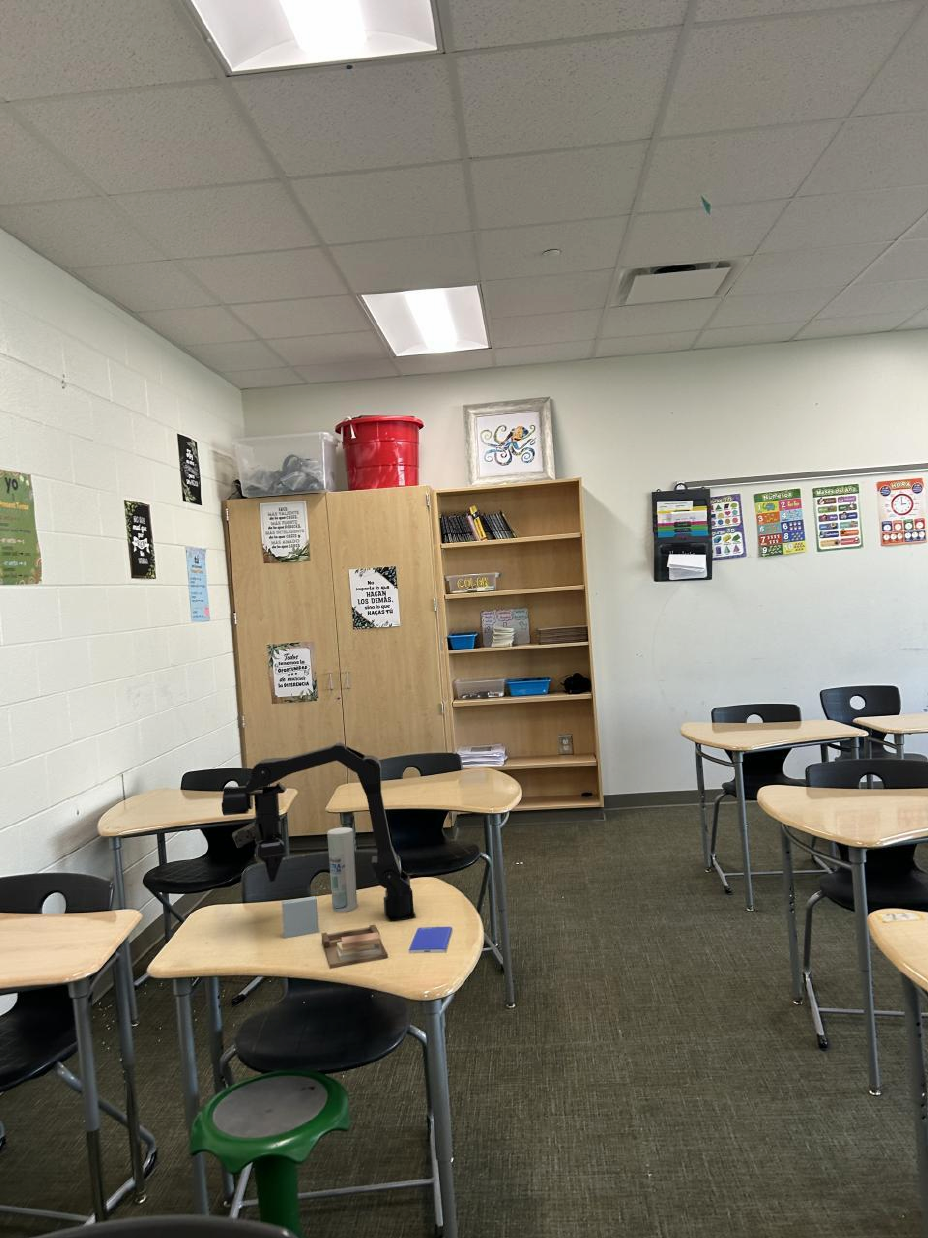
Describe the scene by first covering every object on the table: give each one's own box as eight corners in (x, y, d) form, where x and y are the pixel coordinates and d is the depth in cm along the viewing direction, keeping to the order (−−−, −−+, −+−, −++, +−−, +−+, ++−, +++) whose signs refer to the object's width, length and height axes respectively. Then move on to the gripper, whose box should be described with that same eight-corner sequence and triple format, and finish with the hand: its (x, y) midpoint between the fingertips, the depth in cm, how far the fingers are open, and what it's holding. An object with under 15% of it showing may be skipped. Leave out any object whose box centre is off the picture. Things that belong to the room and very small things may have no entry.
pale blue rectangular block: (318, 929, 194) (315, 896, 194) (319, 933, 192) (316, 899, 192) (283, 935, 192) (281, 901, 192) (284, 938, 190) (282, 904, 190)
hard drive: (417, 927, 188) (408, 949, 176) (452, 926, 187) (445, 948, 175) (417, 934, 188) (408, 956, 176) (452, 933, 187) (446, 955, 175)
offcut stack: (378, 945, 179) (377, 930, 179) (382, 954, 174) (381, 938, 174) (336, 953, 177) (335, 937, 177) (339, 961, 172) (338, 945, 172)
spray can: (326, 910, 207) (321, 832, 208) (346, 902, 212) (341, 826, 213) (344, 914, 203) (338, 834, 203) (363, 906, 208) (357, 828, 208)
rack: (375, 933, 189) (374, 924, 189) (387, 958, 174) (387, 947, 174) (322, 943, 185) (321, 933, 185) (329, 968, 171) (329, 958, 171)
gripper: (232, 808, 204) (236, 871, 204) (233, 824, 186) (237, 892, 186) (277, 803, 207) (281, 864, 207) (282, 818, 189) (286, 885, 189)
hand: (271, 876), depth 197 cm, fingers open, 9 cm apart
